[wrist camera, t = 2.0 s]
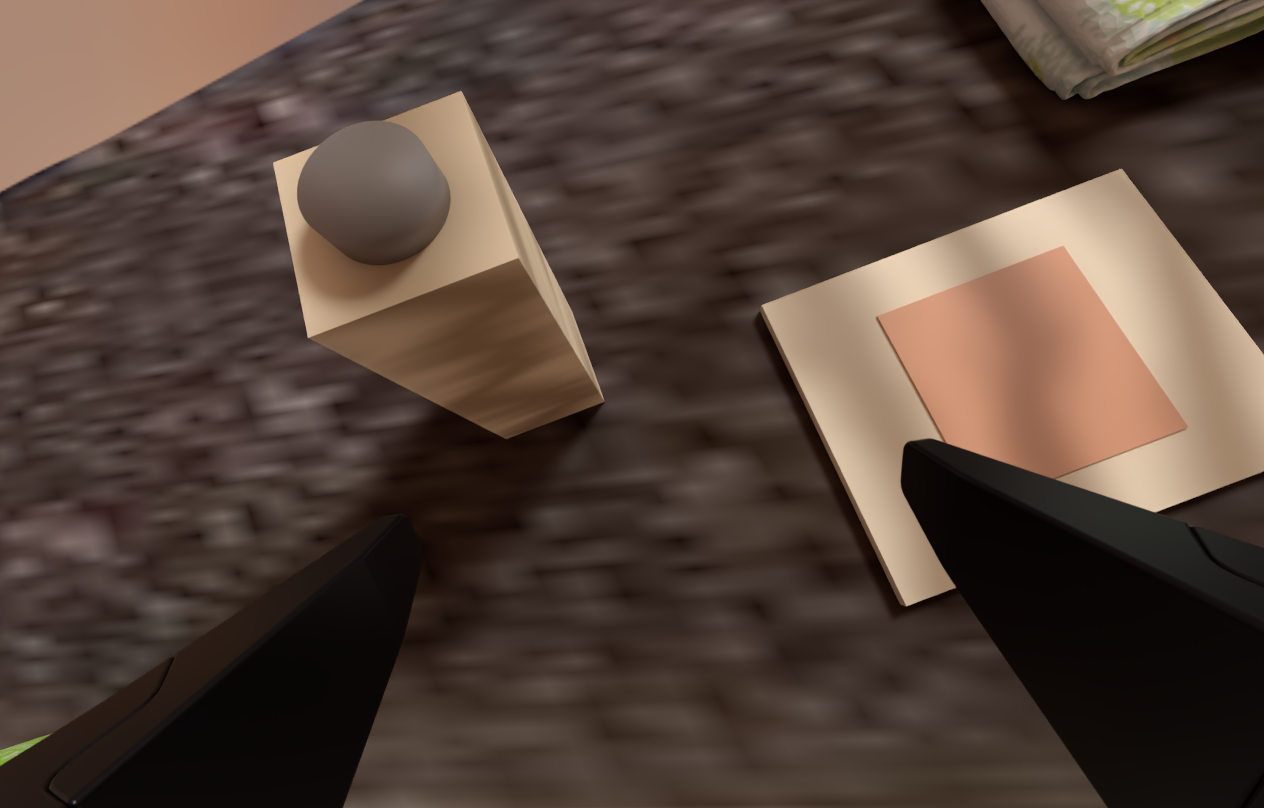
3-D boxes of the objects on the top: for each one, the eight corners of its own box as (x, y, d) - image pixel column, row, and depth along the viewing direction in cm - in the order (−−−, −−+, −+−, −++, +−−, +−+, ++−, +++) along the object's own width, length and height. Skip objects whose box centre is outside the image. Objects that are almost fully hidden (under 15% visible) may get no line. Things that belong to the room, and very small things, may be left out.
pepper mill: (506, 439, 24) (272, 319, 10) (478, 347, 25) (238, 132, 11) (604, 401, 24) (503, 232, 10) (571, 311, 25) (442, 53, 11)
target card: (899, 603, 20) (907, 606, 20) (759, 310, 24) (762, 304, 23) (1314, 447, 20) (1335, 444, 20) (1110, 177, 24) (1123, 167, 23)
